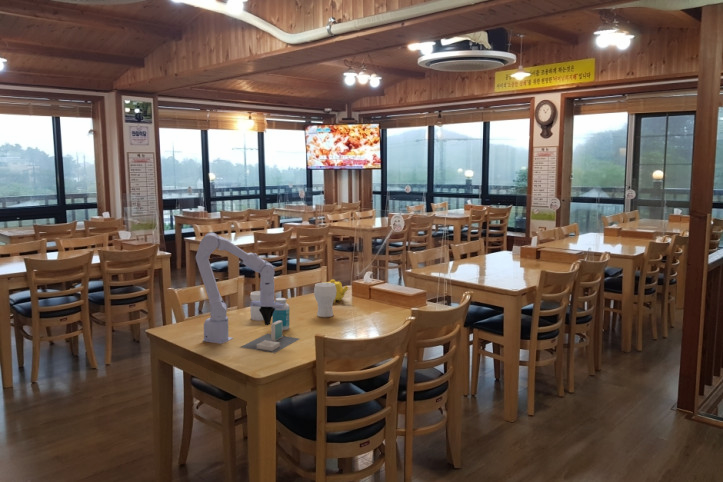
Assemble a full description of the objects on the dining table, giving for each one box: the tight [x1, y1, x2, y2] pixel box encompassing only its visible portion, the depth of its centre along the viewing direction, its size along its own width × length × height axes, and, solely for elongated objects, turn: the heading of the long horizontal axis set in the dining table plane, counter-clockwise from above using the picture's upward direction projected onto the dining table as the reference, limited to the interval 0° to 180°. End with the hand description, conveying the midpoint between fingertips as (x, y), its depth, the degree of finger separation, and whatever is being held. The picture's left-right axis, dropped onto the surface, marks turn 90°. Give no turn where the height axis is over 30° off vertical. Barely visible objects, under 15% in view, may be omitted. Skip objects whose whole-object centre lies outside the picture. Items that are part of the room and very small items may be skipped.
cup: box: [313, 281, 336, 318], centre depth 276 cm, size 11×11×15 cm
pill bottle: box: [271, 297, 290, 331], centre depth 252 cm, size 8×7×14 cm
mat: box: [240, 333, 301, 354], centre depth 233 cm, size 16×20×1 cm
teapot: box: [327, 279, 349, 304], centre depth 305 cm, size 14×14×11 cm
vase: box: [249, 290, 264, 321], centre depth 269 cm, size 9×9×12 cm
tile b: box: [270, 320, 283, 341], centre depth 237 cm, size 2×6×7 cm, turn 157°
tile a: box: [257, 340, 280, 351], centre depth 227 cm, size 2×6×7 cm
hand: (267, 324), depth 239 cm, fingers closed
